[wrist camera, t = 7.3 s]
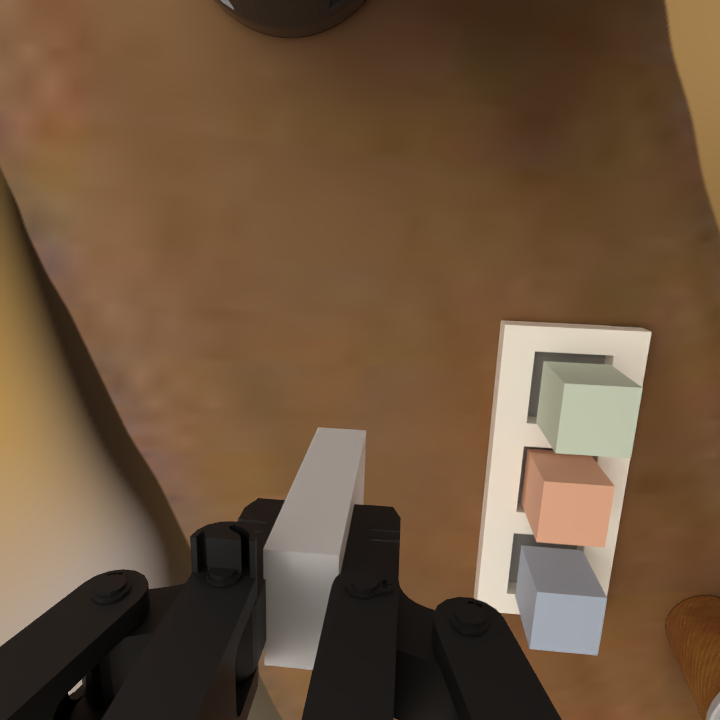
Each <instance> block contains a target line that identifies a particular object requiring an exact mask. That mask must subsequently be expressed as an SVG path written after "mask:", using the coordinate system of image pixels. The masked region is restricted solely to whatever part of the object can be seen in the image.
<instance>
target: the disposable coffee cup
mask: <svg viewBox="0 0 720 720" xmlns="http://www.w3.org/2000/svg"><path fill="white" fill-rule="evenodd" d="M666 635H667V637H668V639H669V641H670V644H671V646H672V648H673V651H674V653H675V655H676V658H677V660H678V662H679V664H680V667H681V669H682V671H683V674H684V676H685V679H686V681H687V683H688V686H689V688H690V690H691V693H692V695H693V697H694V699H695V702H696V704H697V707H698V709H699V711H700V714H701V716H702V718H703V720H720V599H719V598H717V597H713V596H697V597H693V598H689V599H687V600H685V601H683V602H681V603H680V604H678V605H677V606H676V607H675V608H674V609H673V610H672V611H671V612H670V614H669V615H668V618H667V620H666Z"/></svg>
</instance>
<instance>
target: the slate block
mask: <svg viewBox="0 0 720 720" xmlns="http://www.w3.org/2000/svg"><path fill="white" fill-rule="evenodd" d="M515 598H516V602H517V605H518V609H519V612H520V616H521V620H522V623H523V627H524V630H525V634H526V638H527V641H528V645H529V649H536V650H546V651H557V652H567V653H578V654H588V655H598V650H599V644H600V638H601V632H602V626H603V620H604V614H605V608H606V602H607V597H606V595H605V593H604V591H603V589H602V587H601V585H600V583H599V581H598V579H597V577H596V575H595V573H594V572H593V570H592V568H591V566H590V564H589V562H588V560H587V558H586V556H585V554H584V552H583V550H572V549H559V548H547V547H535V546H522V545H521V553H520V561H519V569H518V577H517V586H516V594H515Z"/></svg>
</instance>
